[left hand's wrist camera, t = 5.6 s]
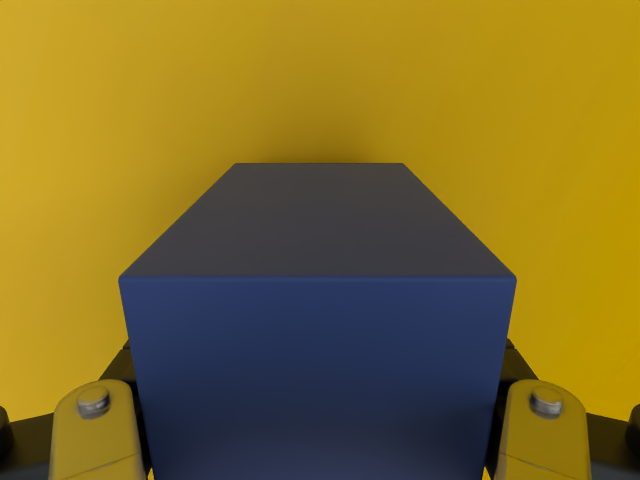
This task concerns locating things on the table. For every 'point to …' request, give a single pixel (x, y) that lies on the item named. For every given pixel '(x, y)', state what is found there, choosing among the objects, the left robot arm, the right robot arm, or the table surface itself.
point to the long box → (317, 330)
